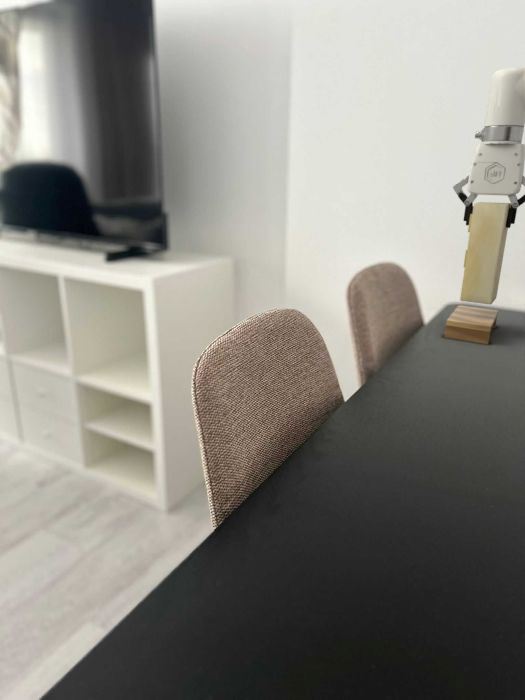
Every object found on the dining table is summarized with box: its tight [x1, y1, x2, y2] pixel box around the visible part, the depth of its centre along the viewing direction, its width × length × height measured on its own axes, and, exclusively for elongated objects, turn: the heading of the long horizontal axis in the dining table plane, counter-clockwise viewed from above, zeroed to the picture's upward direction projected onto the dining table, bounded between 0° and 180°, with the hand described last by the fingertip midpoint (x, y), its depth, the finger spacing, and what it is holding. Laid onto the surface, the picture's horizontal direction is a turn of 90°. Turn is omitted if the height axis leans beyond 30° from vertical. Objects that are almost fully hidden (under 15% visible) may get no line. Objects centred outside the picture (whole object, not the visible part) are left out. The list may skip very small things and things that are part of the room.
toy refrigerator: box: [459, 201, 512, 305], centre depth 112 cm, size 8×7×21 cm
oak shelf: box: [443, 304, 499, 345], centre depth 117 cm, size 16×9×4 cm, turn 151°
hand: (488, 225), depth 110 cm, fingers closed on toy refrigerator, 7 cm apart
